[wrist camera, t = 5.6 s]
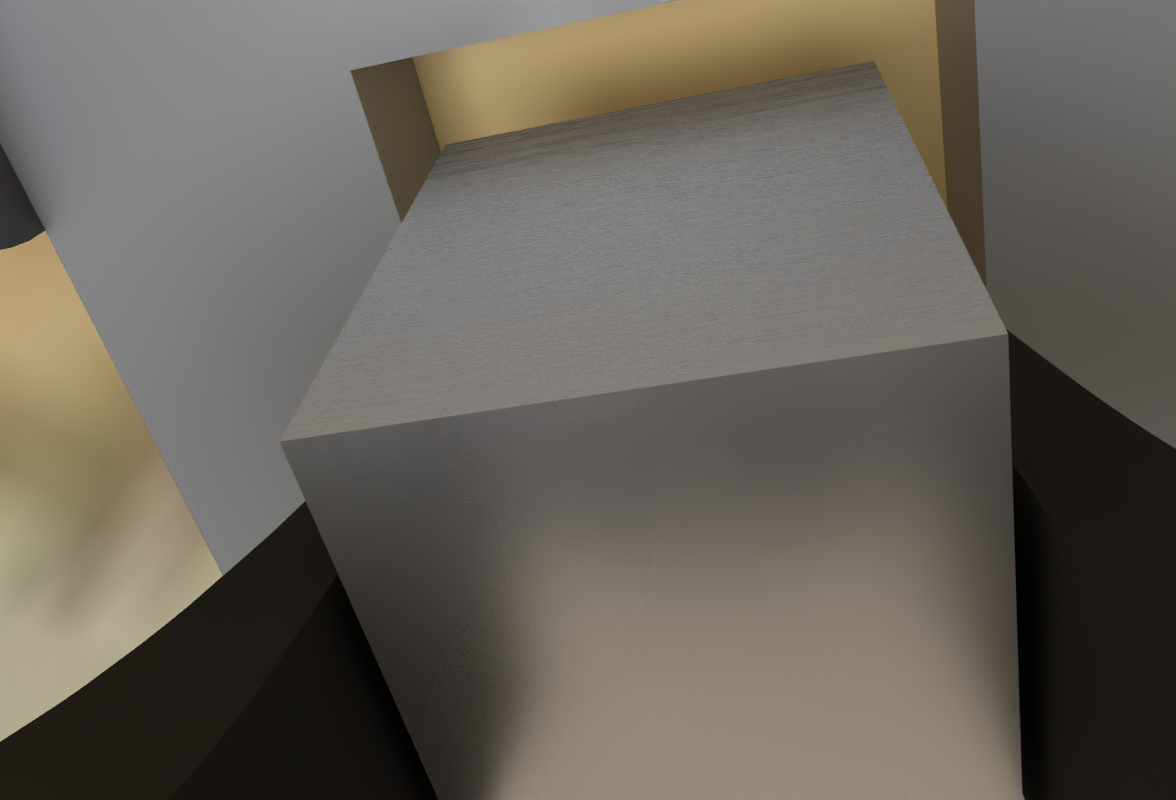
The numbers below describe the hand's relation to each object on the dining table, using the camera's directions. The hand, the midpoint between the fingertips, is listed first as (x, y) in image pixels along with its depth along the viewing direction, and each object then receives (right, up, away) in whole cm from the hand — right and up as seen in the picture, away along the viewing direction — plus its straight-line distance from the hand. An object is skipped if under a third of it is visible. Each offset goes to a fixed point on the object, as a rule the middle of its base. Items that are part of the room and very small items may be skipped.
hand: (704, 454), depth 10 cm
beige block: (0, +1, +1) cm, 2 cm away
